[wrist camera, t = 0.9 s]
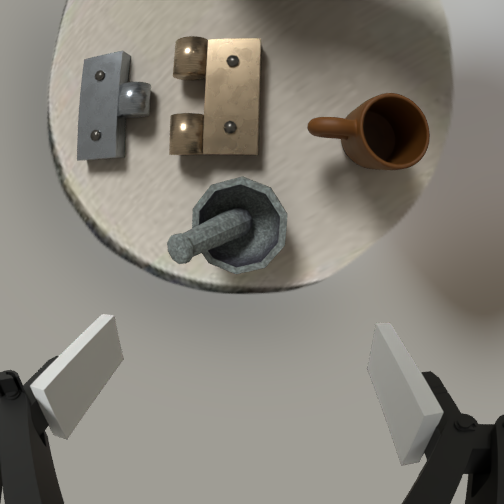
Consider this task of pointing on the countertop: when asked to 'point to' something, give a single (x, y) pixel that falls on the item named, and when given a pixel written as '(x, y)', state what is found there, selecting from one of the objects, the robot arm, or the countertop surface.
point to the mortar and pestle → (234, 227)
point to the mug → (379, 132)
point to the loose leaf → (108, 106)
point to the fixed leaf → (219, 97)
